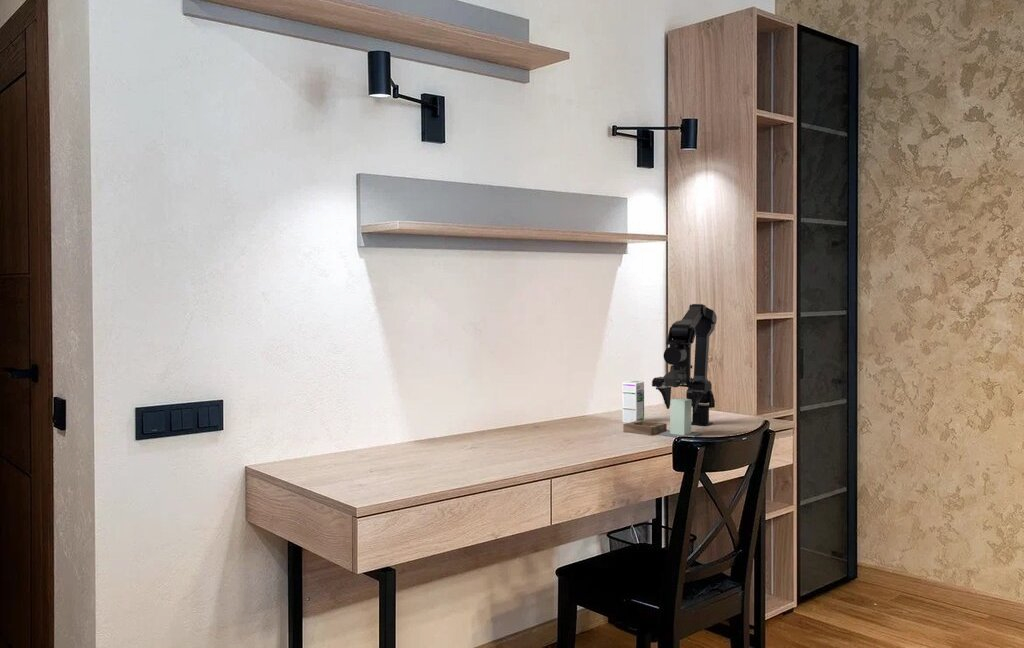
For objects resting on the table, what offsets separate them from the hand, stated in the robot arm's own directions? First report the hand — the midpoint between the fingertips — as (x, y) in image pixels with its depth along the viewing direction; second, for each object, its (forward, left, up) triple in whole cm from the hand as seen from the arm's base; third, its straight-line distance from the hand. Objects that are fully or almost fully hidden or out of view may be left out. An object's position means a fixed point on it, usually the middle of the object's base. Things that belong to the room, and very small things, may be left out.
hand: (680, 410), depth 275 cm
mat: (0, 0, -8) cm, 8 cm away
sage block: (0, 0, -8) cm, 8 cm away
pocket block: (+2, -12, -8) cm, 15 cm away
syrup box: (-11, -24, -8) cm, 28 cm away
